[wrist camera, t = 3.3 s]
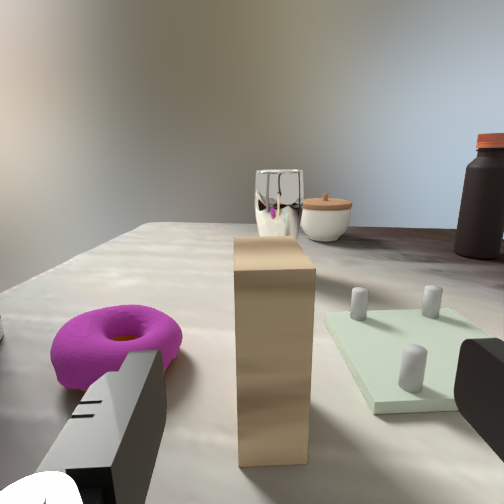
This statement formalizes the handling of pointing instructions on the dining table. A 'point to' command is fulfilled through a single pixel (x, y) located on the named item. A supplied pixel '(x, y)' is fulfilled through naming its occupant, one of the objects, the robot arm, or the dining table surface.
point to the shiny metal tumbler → (279, 202)
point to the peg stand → (402, 352)
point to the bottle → (483, 201)
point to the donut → (110, 342)
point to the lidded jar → (325, 217)
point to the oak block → (273, 349)
